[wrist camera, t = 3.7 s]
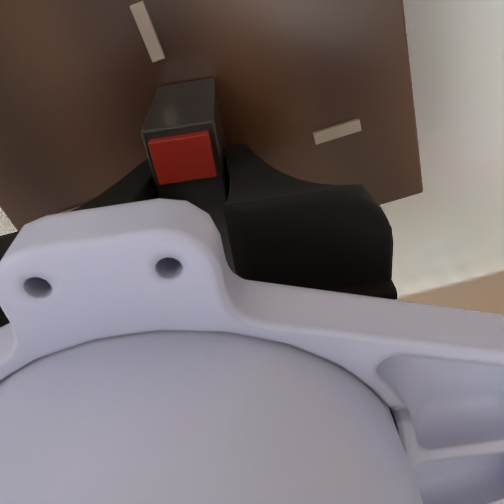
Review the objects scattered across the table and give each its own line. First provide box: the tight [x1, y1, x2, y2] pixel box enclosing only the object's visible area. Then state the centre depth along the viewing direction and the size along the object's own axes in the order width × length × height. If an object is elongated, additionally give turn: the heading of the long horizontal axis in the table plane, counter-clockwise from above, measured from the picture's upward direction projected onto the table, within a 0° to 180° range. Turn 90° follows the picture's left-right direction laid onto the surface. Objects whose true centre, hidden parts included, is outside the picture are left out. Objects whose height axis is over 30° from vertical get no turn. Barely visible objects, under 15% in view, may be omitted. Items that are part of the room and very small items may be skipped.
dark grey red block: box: [141, 78, 236, 274], centre depth 13 cm, size 6×2×4 cm, turn 7°
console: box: [0, 0, 423, 231], centre depth 15 cm, size 13×11×3 cm
